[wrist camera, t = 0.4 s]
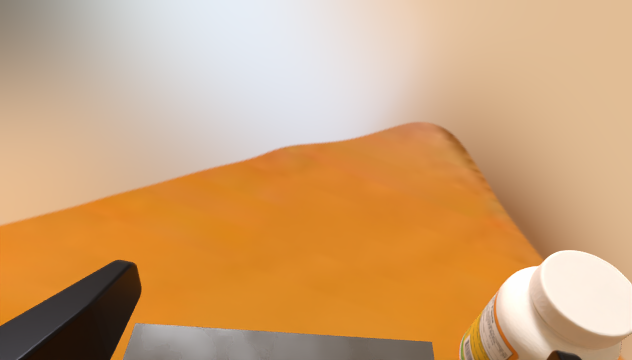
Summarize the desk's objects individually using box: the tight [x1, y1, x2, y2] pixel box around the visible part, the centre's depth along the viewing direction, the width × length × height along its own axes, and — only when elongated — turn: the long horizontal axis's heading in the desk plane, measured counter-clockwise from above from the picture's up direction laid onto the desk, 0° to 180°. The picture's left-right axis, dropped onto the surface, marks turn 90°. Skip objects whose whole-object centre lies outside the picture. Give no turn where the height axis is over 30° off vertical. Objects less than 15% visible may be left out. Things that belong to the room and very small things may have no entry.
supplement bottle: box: [459, 250, 632, 360], centre depth 21 cm, size 5×5×10 cm
